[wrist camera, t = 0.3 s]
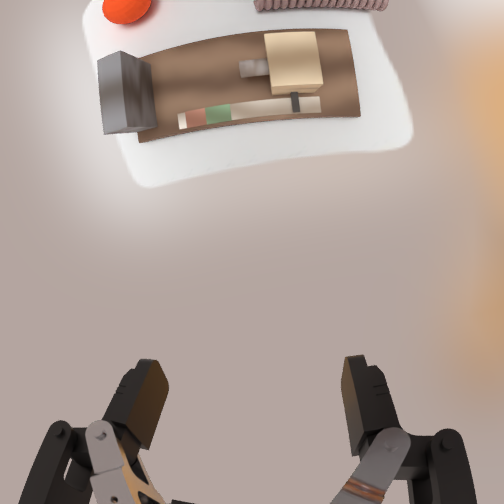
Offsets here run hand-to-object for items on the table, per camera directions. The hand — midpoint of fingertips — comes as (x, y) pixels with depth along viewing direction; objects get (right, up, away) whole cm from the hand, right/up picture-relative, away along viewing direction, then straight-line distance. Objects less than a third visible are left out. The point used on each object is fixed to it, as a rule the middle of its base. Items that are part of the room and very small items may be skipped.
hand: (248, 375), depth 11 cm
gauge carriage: (+3, +25, +17) cm, 30 cm away
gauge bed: (-1, +27, +19) cm, 33 cm away
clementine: (-16, +40, +14) cm, 46 cm away
